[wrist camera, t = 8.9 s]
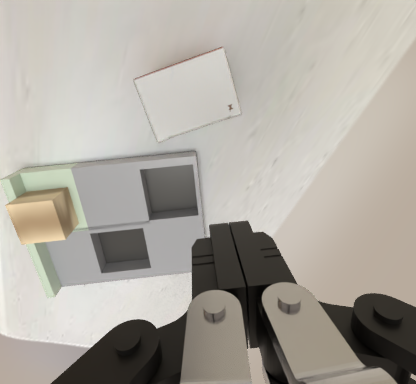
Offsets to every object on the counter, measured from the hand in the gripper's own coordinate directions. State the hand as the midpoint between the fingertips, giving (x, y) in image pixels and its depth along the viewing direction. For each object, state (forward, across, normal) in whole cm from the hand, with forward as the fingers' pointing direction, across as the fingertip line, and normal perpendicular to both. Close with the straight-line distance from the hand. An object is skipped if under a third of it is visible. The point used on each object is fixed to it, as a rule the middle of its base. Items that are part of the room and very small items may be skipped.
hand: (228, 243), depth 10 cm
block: (+22, +19, +7) cm, 30 cm away
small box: (+25, +1, -5) cm, 26 cm away
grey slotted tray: (+25, +12, +11) cm, 30 cm away
